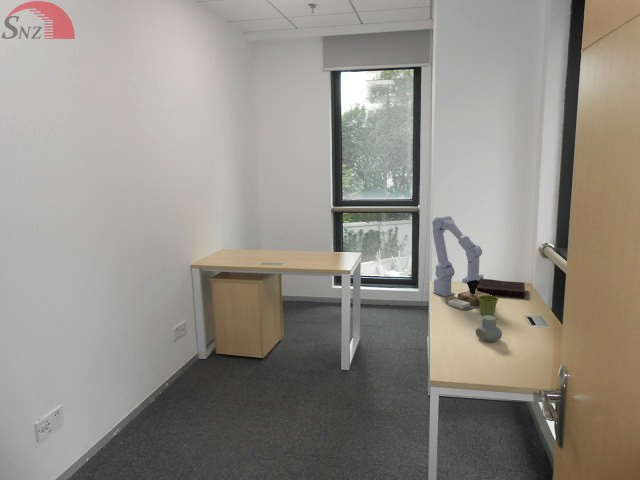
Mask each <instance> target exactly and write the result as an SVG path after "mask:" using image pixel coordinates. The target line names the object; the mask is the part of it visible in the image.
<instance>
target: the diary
mask: <svg viewBox="0 0 640 480" xmlns="http://www.w3.org/2000/svg"><path fill="white" fill-rule="evenodd" d="M478 281H480V283H479V284H478V286H477V288H476V291H479V292H483V293H486V294H489V295H492V296H495V297H501V296H502V297H504V298H514V297H515V298H516V299H525V297H526V287H525V285H526V284H525V282H521V281H505V280H499V279H492V278H491V279H490V278H483V279H480V280H478Z"/></svg>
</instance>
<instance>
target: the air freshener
mask: <svg viewBox="0 0 640 480" xmlns="http://www.w3.org/2000/svg"><path fill="white" fill-rule="evenodd" d="M497 322H498V321H497V317H495V315H494V316H490V315H486V316H483V315H482V318H481V324H480V325H478V326H477V327H476V329H475V335H476V336H477V338H479V340H481V341H482V342H483V341H484V342H487V341H488V342H489V343H490V342H491V343H492V342H497V341H499V340H500V339H502V338H503V337H502V336H503V331H502V330H501V328H499V326H497ZM488 342H487V343H488Z"/></svg>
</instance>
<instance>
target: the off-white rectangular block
mask: <svg viewBox="0 0 640 480" xmlns="http://www.w3.org/2000/svg"><path fill="white" fill-rule="evenodd" d="M448 302H449V305H448V306H451V307H454V308H457V309H460V310H463V309H464V308H467V307H470V303H468V302H465V301H462V300H459V299H458V298H453V299H450V300H448Z"/></svg>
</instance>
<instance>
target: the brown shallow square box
mask: <svg viewBox="0 0 640 480" xmlns="http://www.w3.org/2000/svg"><path fill="white" fill-rule="evenodd" d="M482 295H489V294H486V293H483V292H479V291H476V292H475V294H470V291H469V290H466V291H463V292H460V293H457V299H459V300H462V301H465V302H468V303H470V305H472V306H475V307H477V308H478V307H480V302H479V299H478V297H479V296H482ZM490 296H491V295H490Z"/></svg>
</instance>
